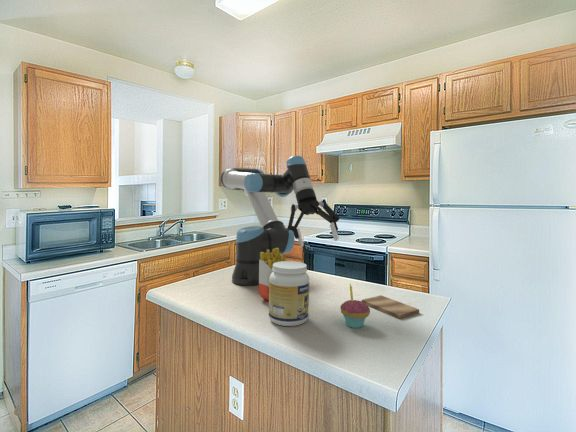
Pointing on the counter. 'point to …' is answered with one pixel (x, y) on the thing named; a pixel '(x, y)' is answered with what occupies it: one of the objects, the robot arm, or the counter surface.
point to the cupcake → (354, 311)
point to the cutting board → (390, 306)
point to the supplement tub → (288, 293)
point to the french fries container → (267, 270)
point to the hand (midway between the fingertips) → (319, 243)
